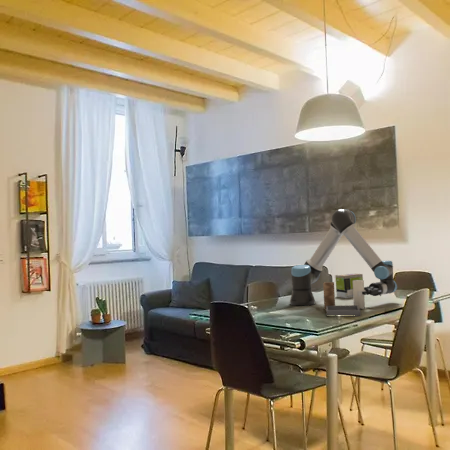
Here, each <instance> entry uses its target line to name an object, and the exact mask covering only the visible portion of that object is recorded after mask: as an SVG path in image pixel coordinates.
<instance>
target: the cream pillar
mask: <svg viewBox="0 0 450 450" xmlns="http://www.w3.org/2000/svg"><path fill="white" fill-rule="evenodd" d="M364 281H365V280H364V279H363V280H353V297H352V298H353V299H352V300H353V303H352V304H353V305H358V307H359V309H360V310H361V309H365V308H366V302H365V301H366V300H365V295H363V296H358V294H357V291H362V290H364V287H365V282H364Z"/></svg>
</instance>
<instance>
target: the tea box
mask: <svg viewBox="0 0 450 450" xmlns="http://www.w3.org/2000/svg"><path fill="white" fill-rule="evenodd" d="M334 276H335V277H334V278H335V293H336V297H337V298H342V299H349V298H353V295H347V290H351V289H353V280H364V277H363V273H343V274H335V275H334Z"/></svg>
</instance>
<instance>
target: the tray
mask: <svg viewBox="0 0 450 450" xmlns="http://www.w3.org/2000/svg"><path fill="white" fill-rule="evenodd" d="M325 311H326V312H327V313H326V312H325V313H326V316H327V315H355V316H354V317H361V316H362V314H361V309H359V307H358V305H354V304H353V305H335V306H326V310H325Z"/></svg>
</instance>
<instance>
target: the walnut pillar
mask: <svg viewBox="0 0 450 450" xmlns="http://www.w3.org/2000/svg"><path fill="white" fill-rule="evenodd" d="M322 287H323V288H322V289H323V304H324V305H323V307H324V308H325V309H326V306H336V296H335V295H336V294H335V293H336V291H335V281H324V282H323V283H322ZM325 309H324V310H325Z"/></svg>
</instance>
